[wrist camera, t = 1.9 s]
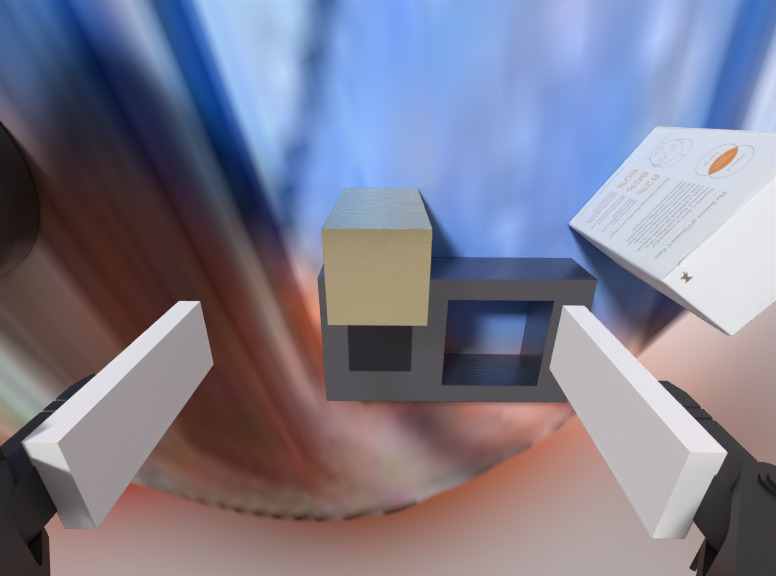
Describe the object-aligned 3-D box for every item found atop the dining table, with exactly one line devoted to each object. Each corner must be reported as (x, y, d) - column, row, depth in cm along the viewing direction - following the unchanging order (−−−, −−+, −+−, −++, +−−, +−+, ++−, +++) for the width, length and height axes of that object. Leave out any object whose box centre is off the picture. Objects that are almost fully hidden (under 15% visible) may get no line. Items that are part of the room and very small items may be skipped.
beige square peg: (346, 256, 29) (326, 324, 20) (343, 187, 27) (320, 228, 18) (415, 256, 29) (428, 325, 20) (418, 187, 27) (433, 229, 18)
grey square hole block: (333, 368, 33) (326, 401, 29) (326, 256, 29) (317, 278, 25) (547, 369, 33) (567, 403, 29) (571, 258, 29) (598, 280, 25)
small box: (617, 265, 29) (729, 342, 20) (564, 222, 28) (656, 283, 18) (710, 174, 26) (894, 213, 17) (656, 122, 25) (822, 132, 15)
